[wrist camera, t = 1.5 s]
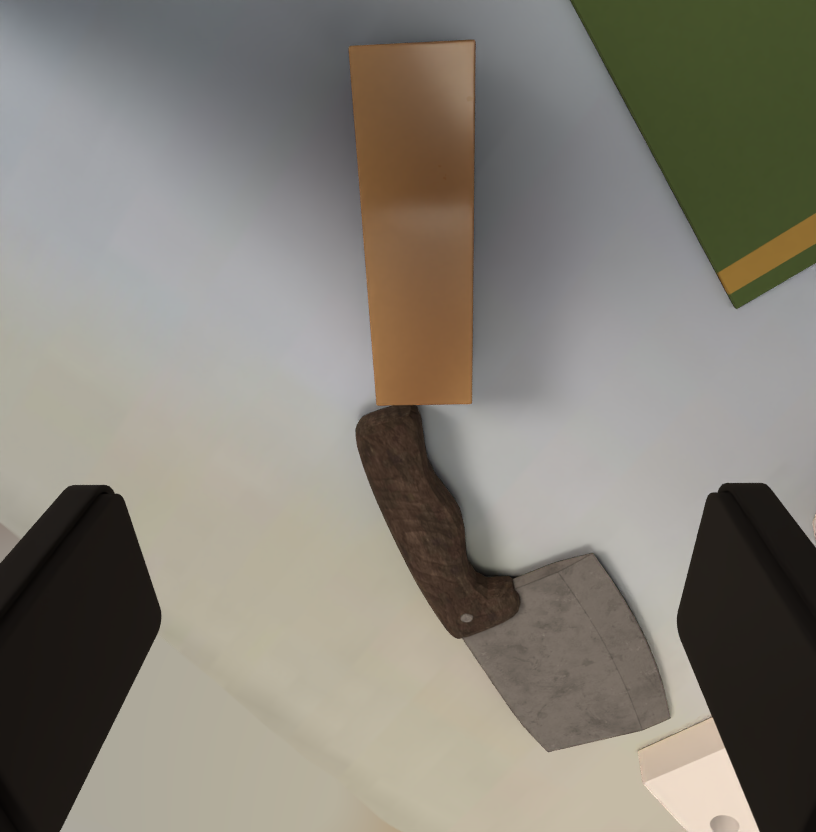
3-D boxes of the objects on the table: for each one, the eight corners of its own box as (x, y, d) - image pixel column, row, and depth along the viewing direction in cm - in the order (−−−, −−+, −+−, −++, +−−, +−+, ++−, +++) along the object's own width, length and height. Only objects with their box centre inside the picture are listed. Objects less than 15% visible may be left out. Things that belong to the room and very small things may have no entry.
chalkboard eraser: (383, 368, 29) (376, 406, 26) (360, 46, 23) (347, 45, 19) (468, 367, 29) (471, 404, 26) (470, 41, 22) (475, 39, 19)
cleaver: (314, 432, 31) (307, 456, 29) (493, 347, 28) (497, 368, 26) (545, 745, 44) (550, 775, 42) (684, 707, 41) (695, 738, 39)
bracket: (811, 659, 39) (866, 759, 32) (877, 736, 40) (945, 850, 33) (636, 740, 44) (651, 841, 37) (697, 807, 45) (723, 919, 38)
